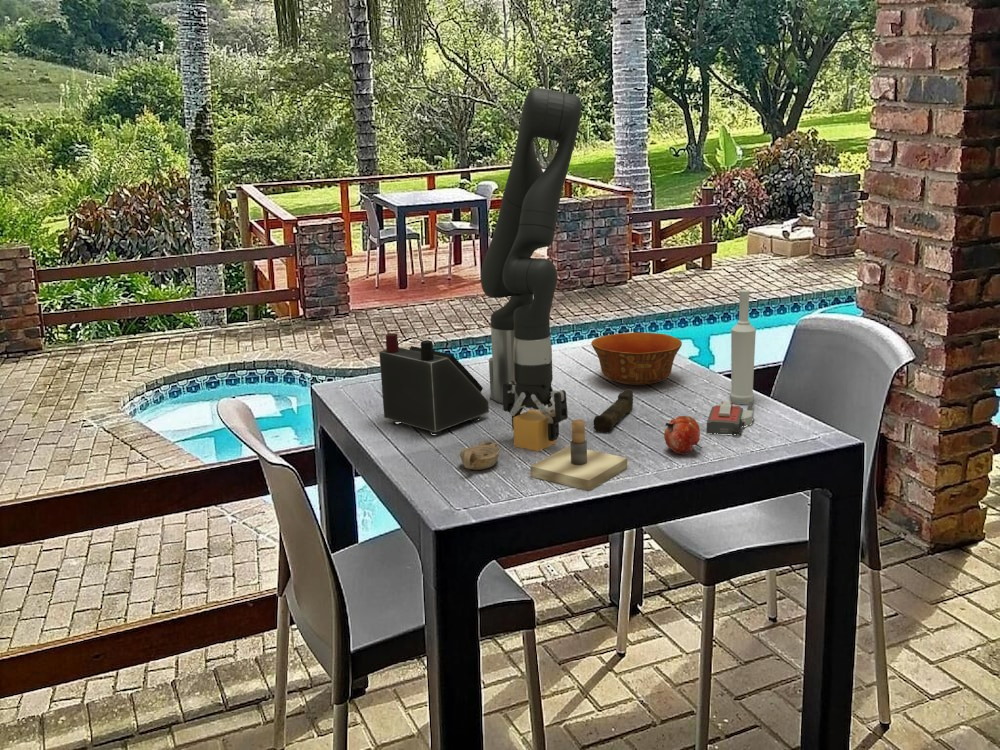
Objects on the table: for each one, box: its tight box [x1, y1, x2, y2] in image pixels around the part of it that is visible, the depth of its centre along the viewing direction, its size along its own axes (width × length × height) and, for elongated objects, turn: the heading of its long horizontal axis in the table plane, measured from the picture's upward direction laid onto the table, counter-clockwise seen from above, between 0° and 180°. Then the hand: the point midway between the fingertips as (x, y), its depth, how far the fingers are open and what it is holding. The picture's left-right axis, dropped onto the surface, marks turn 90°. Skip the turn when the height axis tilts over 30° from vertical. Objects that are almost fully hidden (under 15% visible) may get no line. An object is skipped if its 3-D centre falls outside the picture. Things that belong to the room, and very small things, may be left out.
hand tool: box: [593, 389, 634, 434], centre depth 224 cm, size 19×4×5 cm, turn 152°
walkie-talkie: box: [706, 401, 755, 436], centre depth 220 cm, size 9×4×20 cm
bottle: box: [729, 289, 757, 405], centre depth 229 cm, size 5×5×25 cm
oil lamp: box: [459, 441, 500, 471], centre depth 201 cm, size 13×8×5 cm, turn 157°
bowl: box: [590, 331, 683, 386], centre depth 250 cm, size 21×21×10 cm
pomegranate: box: [663, 415, 703, 455], centre depth 204 cm, size 7×7×10 cm
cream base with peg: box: [529, 418, 628, 491], centre depth 195 cm, size 13×13×10 cm
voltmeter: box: [378, 333, 490, 435], centre depth 226 cm, size 16×16×20 cm
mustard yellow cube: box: [513, 409, 557, 452], centre depth 211 cm, size 6×6×6 cm
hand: (535, 436), depth 211 cm, fingers open, 8 cm apart
